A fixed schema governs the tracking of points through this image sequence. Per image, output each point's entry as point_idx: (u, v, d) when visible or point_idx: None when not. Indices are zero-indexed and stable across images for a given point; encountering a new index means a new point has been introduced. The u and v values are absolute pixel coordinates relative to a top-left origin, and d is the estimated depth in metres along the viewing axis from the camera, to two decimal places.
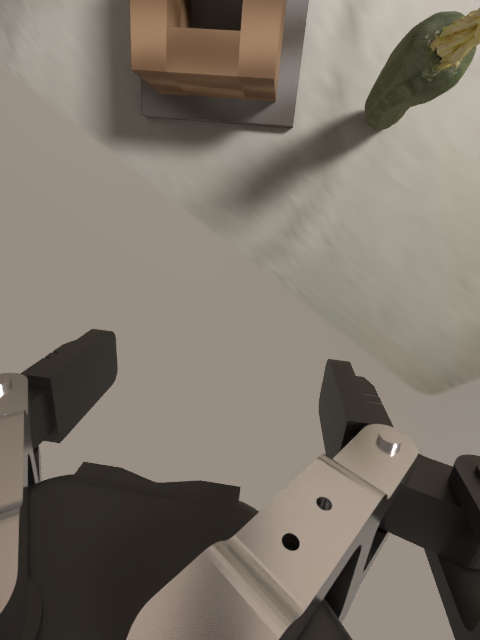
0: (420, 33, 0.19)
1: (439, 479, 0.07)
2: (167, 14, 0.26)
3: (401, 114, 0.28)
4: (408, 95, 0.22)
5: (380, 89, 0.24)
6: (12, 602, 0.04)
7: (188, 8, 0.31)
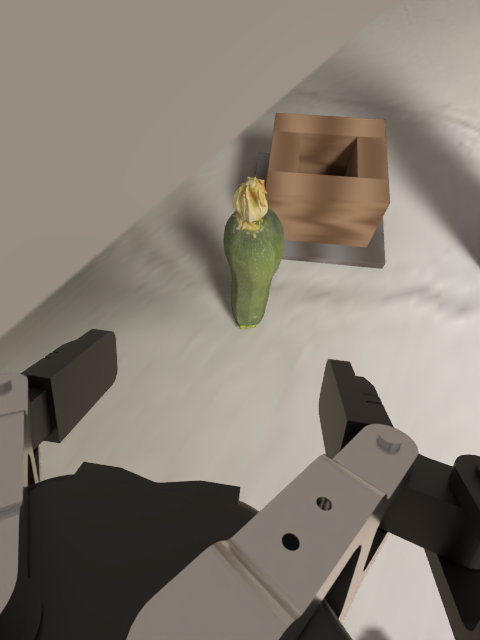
0: None
1: (439, 479, 0.07)
2: (308, 133, 0.36)
3: (235, 295, 0.30)
4: None
5: None
6: (11, 602, 0.04)
7: None
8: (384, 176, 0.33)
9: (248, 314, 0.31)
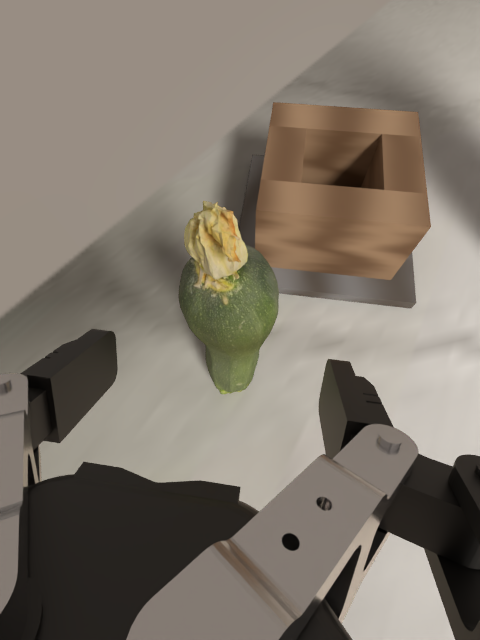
0: (248, 245, 0.13)
1: (439, 479, 0.07)
2: (316, 130, 0.27)
3: (209, 360, 0.21)
4: None
5: None
6: (11, 602, 0.04)
7: None
8: (420, 188, 0.24)
9: (230, 383, 0.22)
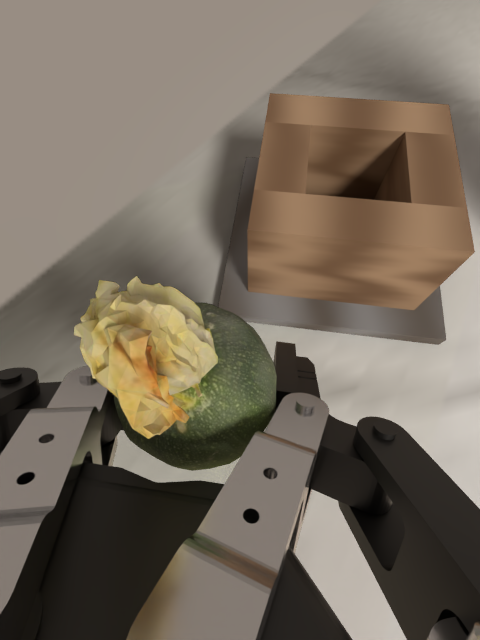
0: (227, 312, 0.08)
1: (346, 438, 0.08)
2: (323, 127, 0.22)
3: None
4: None
5: None
6: None
7: None
8: (458, 201, 0.19)
9: None
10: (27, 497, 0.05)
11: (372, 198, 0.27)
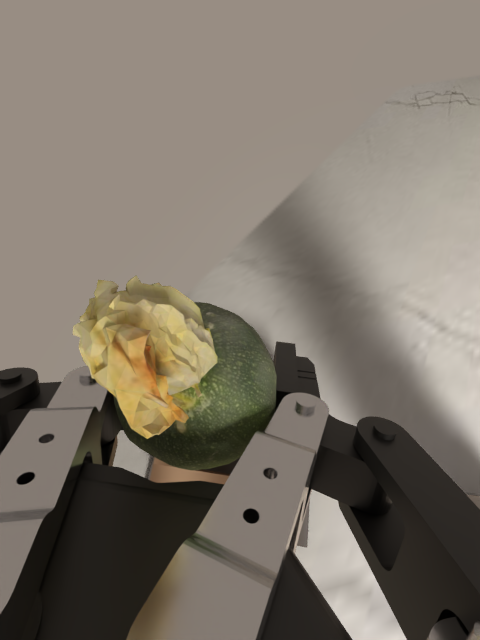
0: (226, 312, 0.08)
1: (346, 438, 0.08)
2: None
3: None
4: None
5: None
6: None
7: None
8: None
9: None
10: (28, 498, 0.05)
11: None
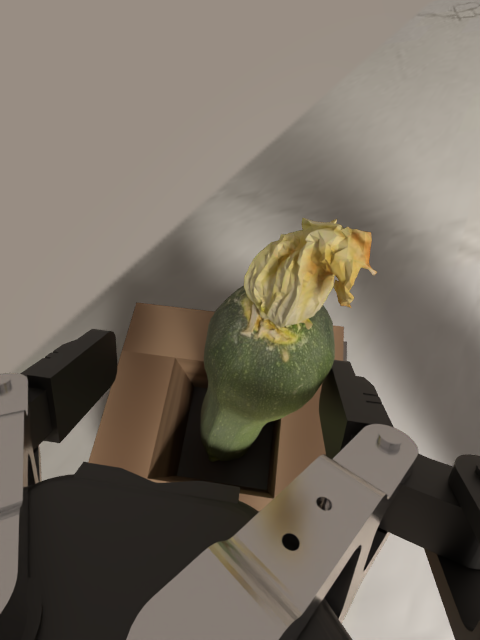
0: None
1: (439, 479, 0.07)
2: (189, 359, 0.18)
3: (209, 422, 0.17)
4: None
5: None
6: (11, 602, 0.04)
7: None
8: None
9: (229, 450, 0.18)
10: None
11: None
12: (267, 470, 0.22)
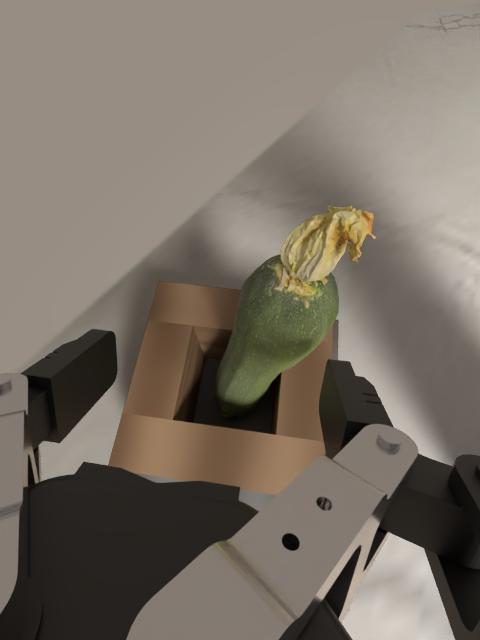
0: None
1: (439, 479, 0.07)
2: (205, 327, 0.22)
3: (228, 377, 0.20)
4: None
5: None
6: (11, 603, 0.04)
7: None
8: None
9: (241, 404, 0.22)
10: None
11: None
12: (269, 427, 0.26)
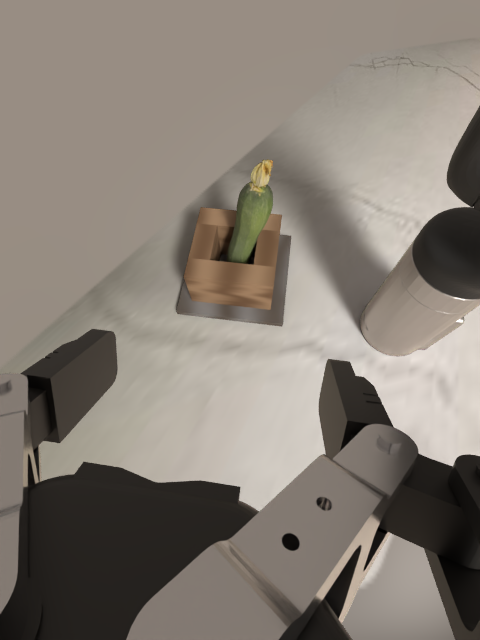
0: None
1: (439, 479, 0.07)
2: (222, 226, 0.48)
3: (233, 245, 0.46)
4: None
5: None
6: (11, 602, 0.04)
7: None
8: (273, 263, 0.45)
9: (239, 261, 0.48)
10: None
11: None
12: None
